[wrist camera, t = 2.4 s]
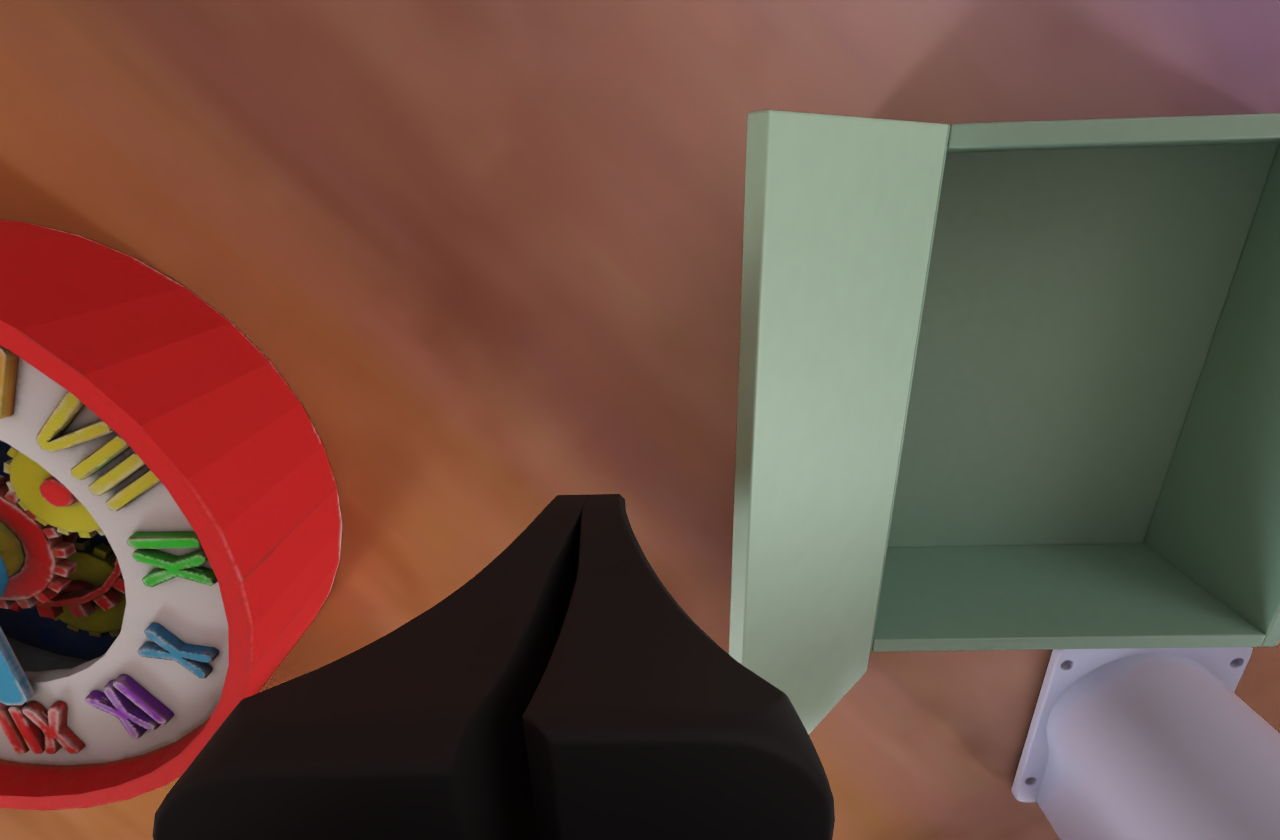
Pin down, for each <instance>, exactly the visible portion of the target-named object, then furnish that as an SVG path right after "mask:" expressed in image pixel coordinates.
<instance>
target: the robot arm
mask: <svg viewBox="0 0 1280 840" xmlns="http://www.w3.org/2000/svg"><path fill="white" fill-rule="evenodd" d="M1252 651H1253V649H1252V647H1202V648H1126V649H1053V651H1052V654H1051V658H1050V661H1049V664H1048V668H1047V671H1046V674H1045V678H1044V681H1043V685H1042V688H1041V691H1040V695H1039V698H1038V701H1037V705H1036V708H1035V712H1034V715H1033V718H1032V722H1031V725H1030V728H1029V732H1028V735H1027V739H1026V742H1025V745H1024V749H1023V752H1022V755H1021V759H1020V762H1019V765H1018V769H1017V772H1016V776H1015V779H1014V782H1013V786H1012V793H1013V795H1014V797H1015V798H1016V800H1018V801H1020V802H1037V803H1038V805H1039V807H1040V808H1041V810H1042V811H1043V813H1044V815H1045V816H1046V818H1047V819H1048V821H1049V823H1050V824H1051V826H1052V827H1053V829H1054V831H1055V832H1056V834H1057V835H1058V837H1059V839H1060V840H1280V733H1279V732H1278V731H1277V730H1276V729H1274V728H1273V727H1272V726H1271V725H1270V724H1269V723H1268V722H1266V721H1265V720H1264V719H1263V718H1262V717H1261V716H1260V715H1259V714H1257V713H1256V712H1255V711H1254V710H1253V709H1252V708H1251V707H1249V706H1248V705H1247V704H1246V703H1245V702H1244V701H1243V700H1242V699H1240V698H1239V697H1238V696H1237V695H1236V694H1235V693H1234V692H1235V689H1236V687H1237V685H1238V683H1239V681H1240V678H1241V676H1242V674H1243V672H1244V670H1245V668H1246V665H1247V663H1248V661H1249V659H1250V657H1251V655H1252ZM834 822H835V818H834V800H833V796H832V792H831V789H830V786H829V782H828V779H827V776H826V774H825V771H824V769H823V766H822V764H821V761H820V759H819V757H818V754H817V752H816V750H815V747H814V745H813V743H812V741H811V739H810V737H809V735H808V733H807V731H806V729H805V727H804V725H803V723H802V721H801V719H800V717H799V716H798V714H797V712H796V710H795V708H794V706H793V705H792V703H791V701H790V699H789V698H788V696H787V695H786V694H785V693H784V692H783V691H781V690H779V689H778V688H776V687H775V686H773V685H772V684H770V683H769V682H767V681H766V680H764V679H763V678H761V677H760V676H758V675H757V674H755V673H754V672H752V671H751V670H749V669H748V668H746V667H745V666H743V665H742V664H740V663H739V662H738V661H736V660H735V659H734V658H732V657H731V656H730V655H729V654H727V653H726V652H725V651H724V650H723V649H721V648H720V647H719V646H718V645H717V644H716V643H715V642H714V641H713V640H712V639H711V638H710V637H709V636H708V635H707V634H706V633H705V632H704V631H703V630H702V629H700V628H699V627H698V626H697V625H696V624H695V623H694V622H693V621H692V620H691V618H690V617H689V616H688V615H687V614H686V613H685V612H684V610H683V609H682V608H681V607H680V606H679V605H678V604H677V602H676V601H675V600H674V598H673V597H672V596H671V595H670V593H669V592H668V591H667V589H666V588H665V587H664V585H663V584H662V582H661V581H660V580H659V578H658V577H657V575H656V573H655V572H654V570H653V569H652V567H651V565H650V564H649V562H648V560H647V559H646V557H645V555H644V553H643V551H642V549H641V547H640V545H639V543H638V541H637V539H636V537H635V535H634V533H633V531H632V528H631V526H630V523H629V520H628V517H627V514H626V510H625V499H624V498H623V497H622V496H621V495H620V494H602V495H557V496H556V497H555V498H554V499H553V500H552V501H551V502H550V503H549V504H548V505H547V507H546V508H545V509H544V510H543V511H542V512H541V513H540V514H539V515H538V516H537V517H536V519H535V520H534V521H533V522H532V523H531V524H530V525H529V526H528V527H527V528H526V529H525V530H524V531H523V532H522V533H521V534H520V535H519V536H518V537H517V538H516V539H515V540H514V541H513V542H512V543H511V544H510V545H509V546H508V547H507V548H506V549H505V550H504V551H503V552H502V553H501V554H500V555H499V556H498V557H496V558H495V559H494V560H493V561H492V562H491V563H490V564H489V565H487V566H486V567H485V568H484V569H483V570H482V571H481V572H480V573H478V574H477V575H476V576H475V577H473V578H472V579H471V580H470V581H468V582H467V583H466V584H465V585H463V586H462V587H461V588H459V589H458V590H456V591H455V592H454V593H452V594H451V595H449V596H448V597H447V598H445V599H444V600H442V601H441V602H440V603H438V604H437V605H435V606H434V607H432V608H431V609H429V610H427V611H426V612H424V613H422V614H421V615H419V616H417V617H416V618H414V619H412V620H411V621H409V622H408V623H406V624H404V625H403V626H401V627H399V628H398V629H396V630H394V631H393V632H391V633H389V634H387V635H386V636H384V637H382V638H380V639H378V640H376V641H374V642H372V643H371V644H369V645H367V646H365V647H363V648H361V649H359V650H357V651H355V652H353V653H351V654H349V655H347V656H345V657H343V658H340V659H338V660H336V661H334V662H332V663H330V664H328V665H325V666H323V667H321V668H319V669H317V670H314V671H312V672H310V673H307V674H305V675H302V676H300V677H297V678H295V679H292V680H290V681H287V682H285V683H282V684H280V685H278V686H275V687H273V688H270V689H268V690H265V691H263V692H260V693H258V694H255V695H252V696H250V697H247V698H244V699H242V700H241V701H240V702H239V704H238V705H237V706H236V707H235V708H234V709H233V711H232V712H231V713H230V714H229V716H228V717H227V718H226V719H225V721H224V722H223V723H222V725H221V726H220V727H219V728H218V730H217V731H216V732H215V733H214V735H213V736H212V737H211V739H210V740H209V741H208V742H207V744H206V745H205V746H204V748H203V749H202V750H201V751H200V753H199V754H198V755H197V757H196V758H195V759H194V761H193V762H192V763H191V764H190V766H189V767H188V768H187V770H186V771H185V772H184V773H183V775H182V776H181V777H180V779H179V780H178V781H177V782H176V784H175V785H174V786H173V788H172V789H171V790H170V792H169V793H168V794H167V796H166V797H165V799H164V800H163V802H162V804H161V805H160V807H159V809H158V810H157V812H156V813H155V819H154V829H153V839H154V840H832V836H833V829H834Z"/></svg>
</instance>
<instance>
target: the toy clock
mask: <svg viewBox="0 0 1280 840" xmlns="http://www.w3.org/2000/svg"><path fill="white" fill-rule="evenodd" d="M341 537H342V518H341V511H340V504H339V497H338V489H337V484H336V481H335V478H334V475H333V472H332V469H331V466H330V463H329V460H328V457H327V454H326V451H325V448H324V445H323V443H322V442H321V440H320V438H319V436H318V434H317V432H316V430H315V428H314V427H313V425H312V423H311V421H310V419H309V417H308V415H307V413H306V412H305V410H304V408H303V406H302V404H301V402H300V401H299V400H298V398H297V397H296V396H295V394H294V393H293V392H292V390H291V389H290V388H289V386H288V385H287V384H286V382H285V381H284V380H283V378H282V377H281V376H280V374H279V373H278V372H277V370H276V369H275V367H274V366H273V365H272V363H271V362H270V361H269V360H268V359H267V358H266V357H265V356H264V355H263V354H262V353H261V352H260V351H259V350H258V349H257V348H256V347H255V346H254V345H253V344H252V343H251V342H250V341H249V340H248V339H247V338H246V337H245V336H244V335H243V334H242V333H241V332H240V331H239V330H238V329H237V328H236V327H235V326H234V325H233V324H232V323H231V322H230V321H229V320H227V319H226V318H225V317H224V316H222V315H221V314H220V313H218V312H217V311H216V310H215V309H213V308H212V307H211V306H209V305H208V304H207V303H205V302H204V301H203V300H202V299H200V298H199V297H198V296H196V295H195V294H194V293H192V292H191V291H190V290H189V289H187V288H186V287H184V286H183V285H181V284H179V283H177V282H176V281H174V280H172V279H171V278H169V277H167V276H165V275H164V274H162V273H160V272H158V271H157V270H155V269H153V268H151V267H150V266H148V265H146V264H144V263H143V262H141V261H139V260H138V259H136V258H134V257H132V256H129V255H127V254H124V253H122V252H119V251H117V250H114V249H112V248H109V247H107V246H104V245H102V244H100V243H97V242H95V241H92V240H90V239H87V238H85V237H82V236H80V235H76V234H72V233H68V232H64V231H60V230H56V229H51V228H47V227H43V226H39V225H35V224H31V223H27V222H21V221H7V220H0V808H9V809H25V810H41V811H44V810H59V809H74V808H88V807H93V806H98V805H103V804H108V803H113V802H117V801H122V800H127V799H131V798H133V797H136V796H139V795H141V794H144V793H146V792H149V791H152V790H154V789H157V788H159V787H162V786H165V785H167V784H168V783H170V782H172V781H173V780H175V779H176V778H178V777H179V776H181V775H183V773H184V772H185V771H186V770H187V768H188V767H189V766H190V764H191V763H192V762H193V761H194V759H195V758H196V757H197V755H198V754H199V753H200V751H201V750H202V749H203V748H204V746H205V745H206V744H207V742H208V741H209V740H210V739H211V737H212V736H213V735H214V733H215V732H216V731H217V730H218V728H219V727H220V726H221V725H222V723H223V722H224V721H225V719H226V718H227V717H228V716H229V714H230V713H231V712H232V711H233V709H234V708H235V707H236V706H237V705H238V704H239V702H240V701H241V700H242V699H244V698H247V697H250V696H252V695H255V694H258V693H259V691H260V690H261V689H262V687H263V686H264V685H265V683H266V682H267V681H268V680H269V678H270V677H271V676H272V674H273V673H274V672H275V670H276V669H277V668H278V666H279V665H280V664H281V662H282V661H283V660H284V658H285V657H286V656H287V655H288V653H289V652H290V651H291V649H292V648H293V647H294V645H295V644H296V643H297V641H298V640H299V639H300V637H301V636H302V635H303V634H304V632H305V631H306V630H307V628H308V627H309V626H310V624H311V623H312V622H313V620H314V619H315V617H316V616H317V614H318V612H319V610H320V609H321V607H322V605H323V604H324V602H325V600H326V598H327V597H328V595H329V593H330V591H331V588H332V585H333V581H334V578H335V575H336V571H337V568H338V565H339V562H340V551H341Z"/></svg>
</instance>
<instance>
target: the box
mask: <svg viewBox="0 0 1280 840" xmlns="http://www.w3.org/2000/svg"><path fill="white" fill-rule="evenodd" d="M1279 641H1280V113H1264V114H1233V115H1202V116H1172V117H1141V118H1111V119H1080V120H1049V121H1019V122H988V123H957V124H948V130H947V137H946V144H945V150H944V157H943V164H942V171H941V177H940V184H939V191H938V197H937V204H936V211H935V217H934V224H933V231H932V238H931V244H930V251H929V258H928V264H927V271H926V278H925V285H924V291H923V298H922V305H921V311H920V318H919V325H918V332H917V338H916V345H915V352H914V358H913V365H912V372H911V378H910V385H909V392H908V399H907V405H906V412H905V419H904V425H903V432H902V439H901V446H900V452H899V459H898V466H897V472H896V479H895V486H894V493H893V499H892V506H891V513H890V519H889V526H888V533H887V539H886V546H885V553H884V560H883V566H882V573H881V580H880V586H879V593H878V600H877V607H876V613H875V620H874V627H873V633H872V640H871V647H870V652H871V651H873V652H899V651H975V650H1050V649H1126V648H1202V647H1259V646H1262V647H1275V646H1277V645H1278V643H1279Z"/></svg>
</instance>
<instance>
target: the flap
mask: <svg viewBox="0 0 1280 840" xmlns="http://www.w3.org/2000/svg"><path fill="white" fill-rule="evenodd" d="M947 130H948V124H942V123H930V122H917V121H905V120H892V119H879V118H867V117H854V116H842V115H829V114H817V113H804V112H792V111H779V110H761V111H752V112H750V113H748V118H747V146H746V175H745V204H744V232H743V261H742V289H741V318H740V346H739V375H738V404H737V432H736V461H735V489H734V518H733V547H732V575H731V604H730V632H729V655H730V656H731V657H732V658H734V659H735V660H736V661H738V662H739V663H740V664H742V665H743V666H745V667H746V668H748V669H749V670H751V671H752V672H754V673H755V674H757V675H758V676H760V677H761V678H763V679H764V680H766V681H767V682H769V683H770V684H772V685H773V686H775V687H776V688H778V689H779V690H781V691H783V692H784V693H785V694H786V695H787V696H788V698H789V699H790V701H791V703H792V705H793V706H794V708H795V710H796V712H797V714H798V716H799V717H800V719H801V721H802V723H803V725H804V727H805V729H806V731H807V733H808V735H809V734H810V733H811V732H812V731H813V729H814V728H815V727H816V726H817V725H818V724H819V723H820V722H821V721H822V720H823V718H824V717H825V716H826V715H827V714H828V713H829V712H830V711H831V710H832V709H833V707H834V706H835V705H836V704H837V703H838V702H839V701H840V700H841V699H842V698H843V696H844V695H845V694H846V693H847V692H848V691H849V690H850V689H851V688H852V687H853V685H854V684H855V683H856V682H857V681H858V680H859V679H860V678H861V677H862V676H863V674H864V673H865V672H866V671H867V667H868V660H869V654H870V647H871V640H872V633H873V627H874V620H875V613H876V607H877V600H878V593H879V586H880V580H881V573H882V566H883V560H884V553H885V546H886V539H887V533H888V526H889V519H890V513H891V506H892V499H893V493H894V486H895V479H896V472H897V466H898V459H899V452H900V446H901V439H902V432H903V425H904V419H905V412H906V405H907V399H908V392H909V385H910V378H911V372H912V365H913V358H914V352H915V345H916V338H917V332H918V325H919V318H920V311H921V305H922V298H923V291H924V285H925V278H926V271H927V264H928V258H929V251H930V244H931V238H932V231H933V224H934V217H935V211H936V204H937V197H938V191H939V184H940V177H941V171H942V164H943V157H944V150H945V144H946V137H947Z"/></svg>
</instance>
